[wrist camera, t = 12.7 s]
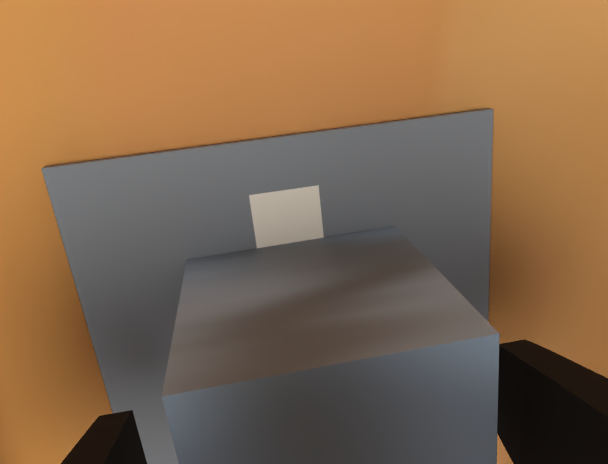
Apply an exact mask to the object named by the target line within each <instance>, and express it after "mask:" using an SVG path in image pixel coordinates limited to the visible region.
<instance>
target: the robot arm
mask: <svg viewBox="0 0 608 464" xmlns="http://www.w3.org/2000/svg"><path fill="white" fill-rule="evenodd" d="M497 433H498V435H499V437H500V439H501V441H502V443H503V445H504V447H505V449H506V451H507V452H508V454H509V456H510V458H511V460H512V461H513V463H514V464H608V378H606V377H604V376H602V375H600V374H597V373H595V372H593V371H591V370H589V369H587V368H585V367H583V366H581V365H579V364H577V363H575V362H573V361H571V360H569V359H567V358H565V357H563V356H561V355H558V354H556V353H554V352H552V351H550V350H548V349H546V348H544V347H541V346H539V345H537V344H535V343H532V342H530V341H527V340H520V341H514V342H509V343H503V344H499V376H498V420H497ZM61 464H147V461H146V458H145V454H144V450H143V447H142V443H141V439H140V436H139V432H138V428H137V425H136V421H135V418H134V414H133V410H130V411H124V412H119V413H113V414H107V415H102V416H99V417H98V418H97V419H96V421H95V422H94V423H93V424H92V425H91V427H90V428H89V429H88V430H87V432H86V433H85V434H84V435H83V437H82V438H81V439H80V440H79V442H78V443H77V444H76V445H75V447H74V448H73V449H72V450H71V452H70V453H69V454H68V455H67V457H66V458H65V459H64V460H63V462H62V463H61Z"/></svg>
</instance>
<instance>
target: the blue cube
mask: <svg viewBox="0 0 608 464" xmlns="http://www.w3.org/2000/svg"><path fill="white" fill-rule="evenodd" d="M498 376H499V333H498V332H497V331H496V330H495V328H494V327H493V326H492V325H491V324H490V323H489V322H488V321H487V320H486V319H485V318H484V317H483V316H482V315H481V314H480V313H479V312H478V311H477V310H476V309H475V308H474V307H473V306H472V305H471V304H470V303H469V302H468V301H467V300H466V299H465V297H464V296H463V295H462V294H461V293H460V292H459V291H458V290H457V289H456V288H455V287H454V286H453V285H452V284H451V283H450V282H449V281H448V280H447V279H446V278H445V277H444V276H443V275H442V274H441V273H440V272H439V271H438V270H437V269H436V268H435V267H434V265H433V264H432V263H431V262H430V261H429V260H428V259H427V258H426V257H425V256H424V255H423V254H422V253H421V252H420V251H419V250H418V249H417V248H416V247H415V246H414V245H413V244H412V243H411V242H410V241H409V240H408V239H407V238H406V237H405V236H404V234H403V233H402V232H401V231H400V230H399V229H398V228H397V227H396V226H392V227H386V228H380V229H373V230H367V231H361V232H355V233H349V234H342V235H336V236H330V237H324V238H318V239H312V240H305V241H299V242H293V243H287V244H281V245H275V246H268V247H262V248H256V249H250V250H244V251H237V252H231V253H225V254H219V255H213V256H206V257H200V258H194V259H188V260H186V265H185V271H184V276H183V282H182V287H181V293H180V298H179V304H178V309H177V315H176V320H175V326H174V331H173V337H172V342H171V348H170V353H169V359H168V364H167V370H166V375H165V381H164V386H163V392H162V400H163V404H164V408H165V412H166V416H167V419H168V423H169V427H170V431H171V435H172V439H173V442H174V446H175V450H176V454H177V458H178V462H179V464H497V420H498Z"/></svg>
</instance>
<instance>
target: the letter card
mask: <svg viewBox="0 0 608 464" xmlns="http://www.w3.org/2000/svg"><path fill="white" fill-rule="evenodd" d="M492 143H493V109H490V108H487V109H480V110H472V111H464V112H457V113H449V114H441V115H434V116H426V117H419V118H411V119H403V120H396V121H388V122H381V123H373V124H365V125H358V126H350V127H342V128H335V129H327V130H320V131H312V132H304V133H297V134H289V135H282V136H274V137H266V138H259V139H251V140H243V141H236V142H228V143H221V144H213V145H205V146H198V147H190V148H183V149H175V150H167V151H160V152H152V153H144V154H137V155H129V156H122V157H114V158H106V159H99V160H91V161H84V162H76V163H68V164H61V165H53V166H45V167H43V168H42V173H43V176H44V179H45V183H46V186H47V190H48V193H49V197H50V200H51V203H52V207H53V210H54V214H55V217H56V220H57V224H58V227H59V231H60V234H61V238H62V241H63V244H64V248H65V251H66V255H67V258H68V262H69V265H70V268H71V272H72V275H73V279H74V282H75V285H76V289H77V292H78V296H79V299H80V303H81V306H82V309H83V313H84V316H85V320H86V323H87V326H88V330H89V333H90V337H91V340H92V344H93V347H94V350H95V354H96V357H97V361H98V364H99V368H100V371H101V374H102V378H103V381H104V385H105V388H106V391H107V395H108V398H109V402H110V405H111V409H112V412H113V413H119V412H124V411H130V410H133V414H134V418H135V421H136V425H137V428H138V432H139V436H140V439H141V443H142V447H143V450H144V454H145V458H146V461H147V464H179V462H178V458H177V454H176V450H175V446H174V442H173V439H172V435H171V431H170V427H169V423H168V419H167V416H166V412H165V408H164V404H163V400H162V392H163V386H164V381H165V375H166V370H167V364H168V359H169V353H170V348H171V342H172V337H173V331H174V326H175V320H176V315H177V309H178V304H179V298H180V293H181V287H182V282H183V276H184V271H185V265H186V260H188V259H194V258H200V257H206V256H213V255H219V254H225V253H231V252H237V251H244V250H250V249H256V248H262V247H268V246H275V245H281V244H287V243H293V242H299V241H305V240H312V239H318V238H324V237H330V236H336V235H342V234H349V233H355V232H361V231H367V230H373V229H380V228H386V227H392V226H396V227H397V228H398V229H399V230H400V231H401V232H402V233H403V234H404V236H405V237H406V238H407V239H408V240H409V241H410V242H411V243H412V244H413V245H414V246H415V247H416V248H417V249H418V250H419V251H420V252H421V253H422V254H423V255H424V256H425V257H426V258H427V259H428V260H429V261H430V262H431V263H432V264H433V265H434V267H435V268H436V269H437V270H438V271H439V272H440V273H441V274H442V275H443V276H444V277H445V278H446V279H447V280H448V281H449V282H450V283H451V284H452V285H453V286H454V287H455V288H456V289H457V290H458V291H459V292H460V293H461V294H462V295H463V296H464V297H465V299H466V300H467V301H468V302H469V303H470V304H471V305H472V306H473V307H474V308H475V309H476V310H477V311H478V312H479V313H480V314H481V315H482V316H483V317H484V318H485V319H486V320H487V321H488V311H489V269H490V227H491V185H492Z"/></svg>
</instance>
